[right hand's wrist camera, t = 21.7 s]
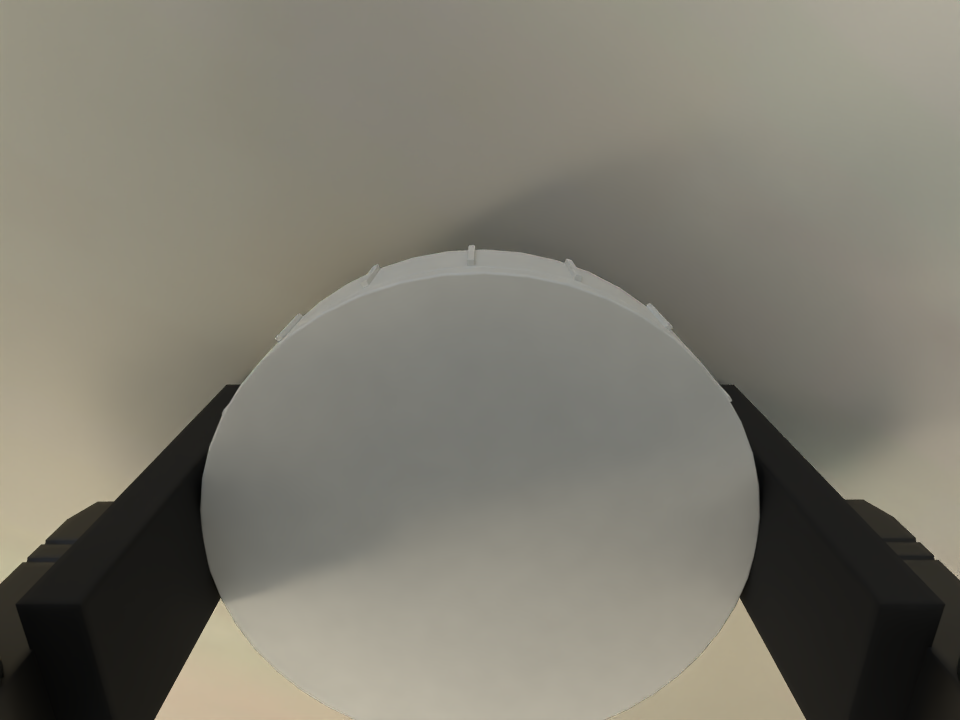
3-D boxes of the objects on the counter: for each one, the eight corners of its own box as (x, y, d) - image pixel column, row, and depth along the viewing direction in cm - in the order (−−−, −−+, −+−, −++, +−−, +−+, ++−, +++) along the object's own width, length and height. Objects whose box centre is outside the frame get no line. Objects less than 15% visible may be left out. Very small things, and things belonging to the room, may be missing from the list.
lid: (146, 524, 12) (96, 584, 11) (433, 124, 10) (423, 124, 8) (511, 737, 14) (515, 815, 13) (829, 451, 12) (885, 503, 10)
